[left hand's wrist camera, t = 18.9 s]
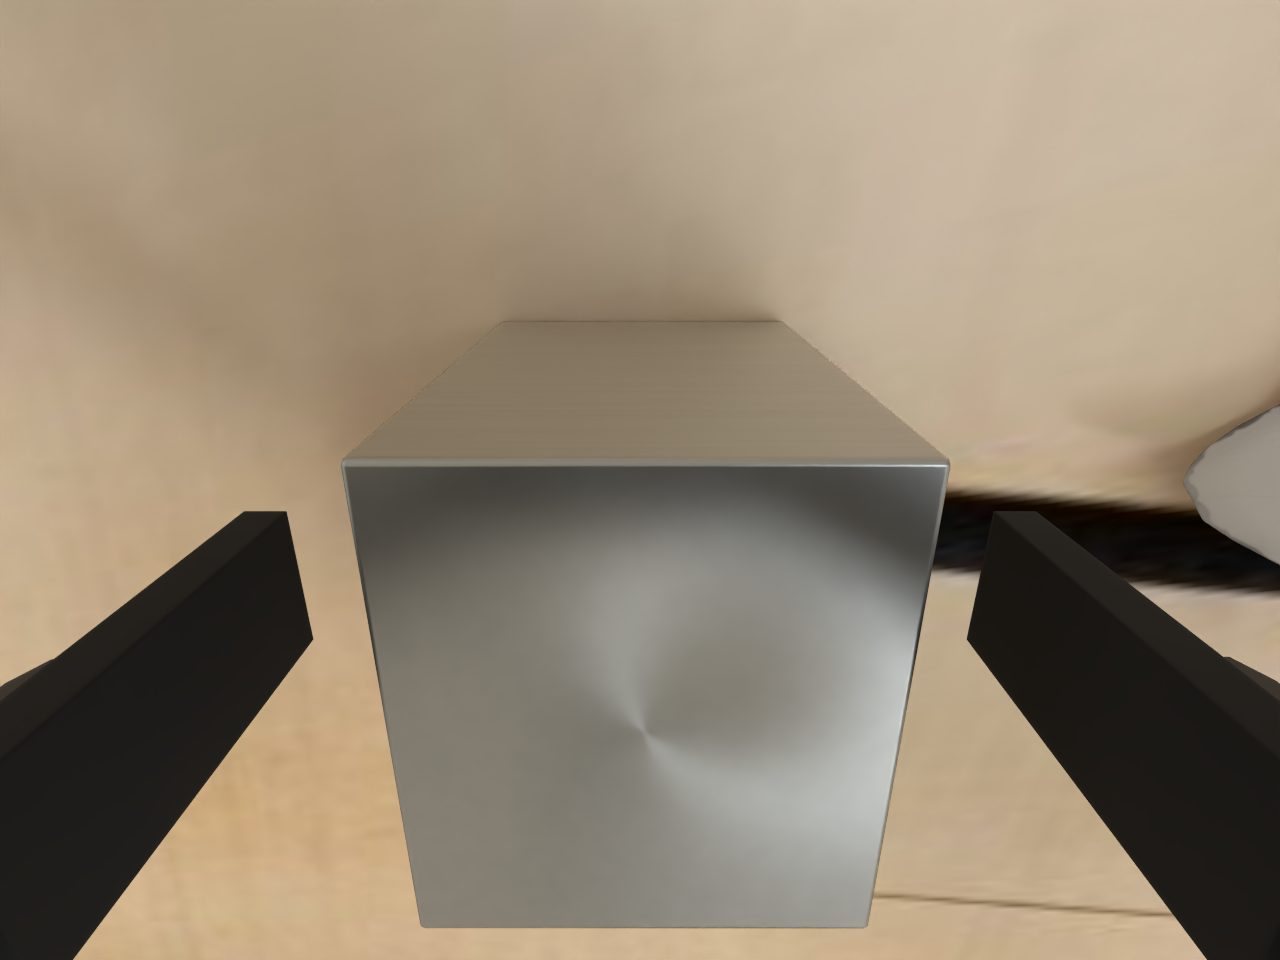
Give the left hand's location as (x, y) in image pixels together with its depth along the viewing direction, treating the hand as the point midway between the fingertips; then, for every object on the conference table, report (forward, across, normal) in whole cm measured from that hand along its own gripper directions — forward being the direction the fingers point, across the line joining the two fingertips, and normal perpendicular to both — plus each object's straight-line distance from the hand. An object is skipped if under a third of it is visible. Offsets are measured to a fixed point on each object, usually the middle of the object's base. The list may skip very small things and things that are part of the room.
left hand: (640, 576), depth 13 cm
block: (+6, 0, 0) cm, 6 cm away
